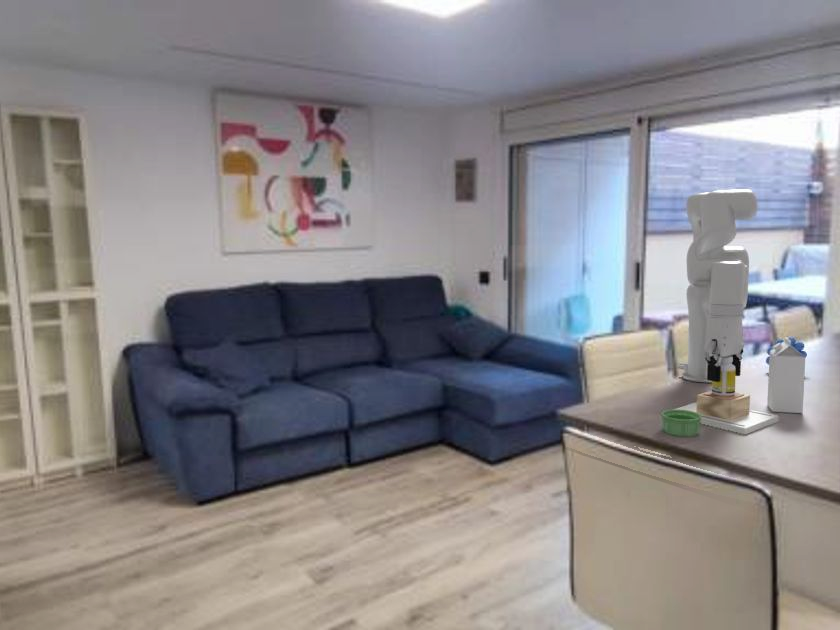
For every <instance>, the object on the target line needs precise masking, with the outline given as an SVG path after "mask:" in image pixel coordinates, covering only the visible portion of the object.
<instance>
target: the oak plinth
mask: <svg viewBox="0 0 840 630" xmlns="http://www.w3.org/2000/svg"><path fill="white" fill-rule="evenodd" d="M696 402H697V409H696V413H700V414H704V415H709V416H713V417H717V418H722V419H726V420H733V419H736V418H739V417H741V416H744V415H747V414H749V410H751V409H750V407H751V406H750V404H751V395H748V394H744V393H740V392H739V393H738V392H735V394H734V395H732V396H719V395H715V394H713V393H712V389H711V390H709V391H705V392H703V393H699V394H696Z"/></svg>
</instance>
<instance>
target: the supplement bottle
mask: <svg viewBox="0 0 840 630" xmlns="http://www.w3.org/2000/svg"><path fill="white" fill-rule="evenodd" d="M716 359H717V357H715V360H716ZM732 362H733V356H727V357H722V360H721V362H720V364H719V366H721V379H720V382H715V381H712V383H711V390H712V393H713V394H715V395H719V396H732V395H734V394H735V393H736V376H735V373H736V368H735V366H734V365H732Z"/></svg>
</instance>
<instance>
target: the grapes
mask: <svg viewBox="0 0 840 630" xmlns="http://www.w3.org/2000/svg"><path fill="white" fill-rule="evenodd" d="M787 339H789V340H790V341H791V346H792V347H793V348H795V349H796V350H797V351H798V352H800V353H801V354H802V355H803V356H804V357H805V359H806V358H807V356H808V354H807V352H806V350H804V348H805V344H804V343H803V342H801V341H798V342H797V340H796V339H795V338H794V337H787ZM784 341H785V339H778V340H776V341H775V342H774V346H775V345H776V344H778V343H782V342H784ZM774 346H770V347H769V348H768V349H767V350H766V354H767V355H768V357H766V358H765V363H766V364H767V365H768V366H769V356H770V351H771V350H772V349H774V348H773V347H774Z"/></svg>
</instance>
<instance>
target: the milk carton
mask: <svg viewBox="0 0 840 630" xmlns="http://www.w3.org/2000/svg"><path fill="white" fill-rule="evenodd" d="M772 347H773V348H774V349H772V350H771V351H770V355H768V357H769V365H768V378H767V379H768V381H767V382H768V383H767V406H768V408H769V410H770V411H771V412H774V413H775V412H776V413H791V414H803V413H804V396H805V395H804V394H805V392H804V391H805V377H806V376H805V373H806V372H805V371H806V358H805V357H804V356H803V355H802V354H801V353H800V352H798V351H797V350H796V349H795V348H793V347H792V346H791V341H790V340H789V339H788V337H787V336H784V342H782V343H778V344H776V345H775V344H774V345H773V346H772Z"/></svg>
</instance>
